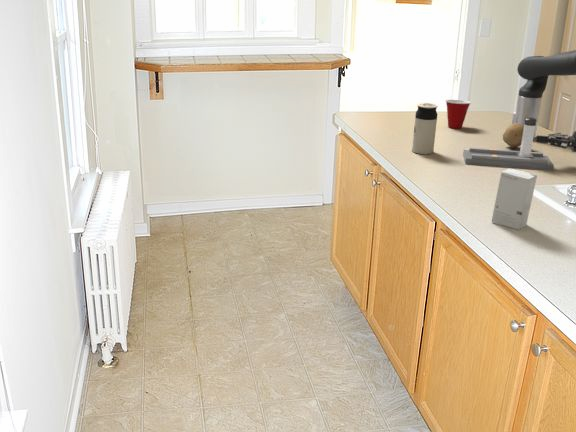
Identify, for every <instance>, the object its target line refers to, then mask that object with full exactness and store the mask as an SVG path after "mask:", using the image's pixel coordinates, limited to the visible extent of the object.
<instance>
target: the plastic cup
mask: <svg viewBox="0 0 576 432" xmlns="http://www.w3.org/2000/svg"><path fill="white" fill-rule="evenodd" d="M444 101H445V104H446V111H447V113H446V114H447V115H446V116H447V126H448V127H447V128H449V129H451V128H452V129H453V130H461V129H462V127H463V125H464V122H465V120H466V119H465V118H466V117H467V112H468V109H469V107H470V105H471V104H472V102H471V101H468V100H461V99H445V100H444Z"/></svg>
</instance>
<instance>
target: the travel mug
mask: <svg viewBox="0 0 576 432" xmlns="http://www.w3.org/2000/svg"><path fill="white" fill-rule="evenodd" d="M438 106H439V105H438V104H437V103H430V102H419V103H417V110H416V111H415V116H414V117H415V118H414V126H413V127H414V128H413V134H412V135H413V138H412V144H411V145H412V147H411V151H412V152H413V153H415V154H418V155H430V154H433V153H434V148H435V141H436V140H435V138H436V131H437V124H438V123H437V122H438V112H437V108H438Z"/></svg>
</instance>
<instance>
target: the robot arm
mask: <svg viewBox="0 0 576 432" xmlns="http://www.w3.org/2000/svg"><path fill="white" fill-rule="evenodd" d="M517 73H518V75H519V76H520V77H521V78H522V79H523V80H526V83H524V85H523V86H521V87H520V88H519V90H518V95H517V102H516V107H515V112H513V115H512V121H511V122H512V123H511V125H512V124H514V123H519V124H522V125H523V126H524V121H525V118H535V119H537V121H536V125H535V131H534V137H533V140H534V139H535V142H536V143H540V144H542V143H543V144H548V145H549V146H551V147H552V146H553V147H558V148H561V149H565V150H566V149H567V148H570V150H571V152H572V153H576V130H575V131H573V133H572V135H568V134H567V133H566V134H564V133H563V134H562V133H561V132H558V133H557V132H556V133H550V134H549V133H548V135H537V130H538V123H539V119H540V111H541V106H542V100H543V96H544V95H543V94H544V92H545V90H546V88H547V84H548V79H549V76H576V50H575V49H573V50H570V51H565V52H560V53H556V54H553V55H548V56H543V55H533V56H527V57H525V58H523V59H522V60H520V62H519V63H518V64H517Z"/></svg>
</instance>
